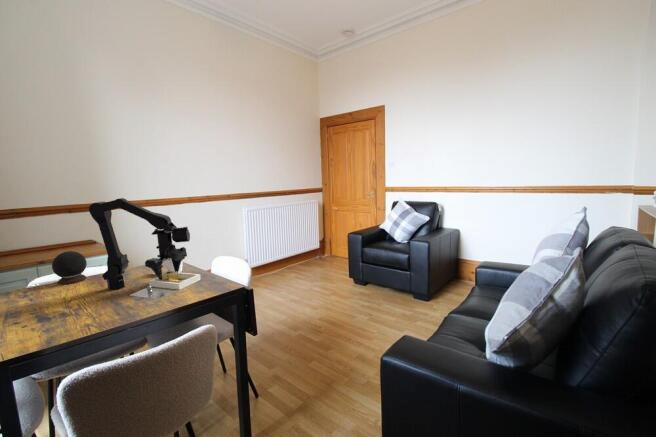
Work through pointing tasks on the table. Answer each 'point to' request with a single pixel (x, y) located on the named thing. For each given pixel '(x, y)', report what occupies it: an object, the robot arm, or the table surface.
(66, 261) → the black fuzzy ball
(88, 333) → the table surface
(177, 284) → the bin
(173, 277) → the strut
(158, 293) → the stud plate
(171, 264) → the cup
